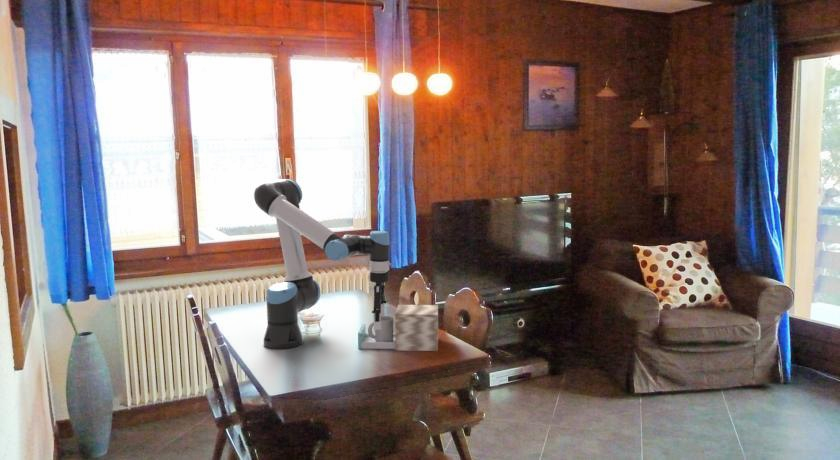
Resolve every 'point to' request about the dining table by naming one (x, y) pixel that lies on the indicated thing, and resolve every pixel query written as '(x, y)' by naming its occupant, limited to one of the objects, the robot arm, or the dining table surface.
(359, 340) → the tray
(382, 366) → the dining table surface
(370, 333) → the cup
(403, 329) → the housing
